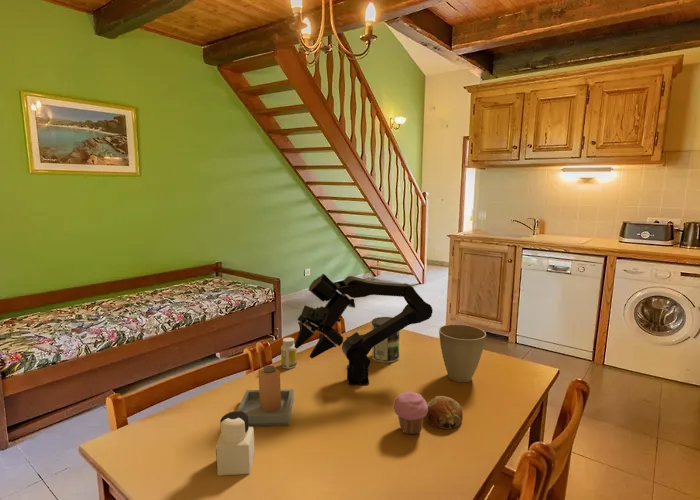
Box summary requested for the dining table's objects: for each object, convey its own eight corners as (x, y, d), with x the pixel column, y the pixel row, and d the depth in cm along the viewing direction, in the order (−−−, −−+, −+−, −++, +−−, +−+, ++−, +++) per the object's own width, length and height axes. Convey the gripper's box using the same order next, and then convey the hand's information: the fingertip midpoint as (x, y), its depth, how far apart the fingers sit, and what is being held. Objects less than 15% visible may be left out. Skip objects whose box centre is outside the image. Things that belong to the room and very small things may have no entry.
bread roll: (462, 428, 113) (464, 398, 115) (460, 433, 104) (462, 400, 106) (426, 422, 116) (429, 392, 118) (421, 425, 107) (424, 393, 109)
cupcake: (432, 438, 103) (433, 401, 101) (398, 442, 101) (399, 404, 100) (420, 418, 111) (421, 384, 110) (389, 421, 110) (389, 387, 108)
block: (273, 401, 119) (272, 363, 117) (281, 407, 115) (279, 368, 113) (259, 406, 116) (258, 367, 114) (266, 413, 113) (265, 372, 111)
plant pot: (483, 391, 126) (485, 342, 124) (434, 384, 131) (436, 336, 129) (484, 370, 140) (486, 326, 138) (440, 365, 145) (441, 321, 143)
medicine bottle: (224, 455, 96) (221, 408, 95) (254, 453, 97) (252, 406, 95) (216, 476, 89) (214, 426, 87) (250, 474, 90) (247, 424, 88)
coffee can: (397, 351, 157) (398, 316, 155) (400, 363, 147) (401, 325, 144) (371, 351, 157) (371, 316, 155) (372, 363, 147) (372, 325, 145)
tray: (293, 398, 122) (293, 389, 122) (288, 425, 108) (287, 415, 108) (246, 399, 122) (246, 390, 121) (235, 426, 108) (234, 416, 107)
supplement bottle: (298, 362, 147) (297, 336, 146) (294, 369, 142) (294, 342, 140) (283, 362, 148) (283, 336, 146) (279, 368, 142) (278, 342, 141)
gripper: (302, 289, 130) (271, 329, 126) (334, 302, 115) (300, 348, 111) (323, 308, 136) (294, 348, 131) (356, 323, 121) (325, 368, 116)
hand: (302, 352), depth 122 cm, fingers open, 9 cm apart
